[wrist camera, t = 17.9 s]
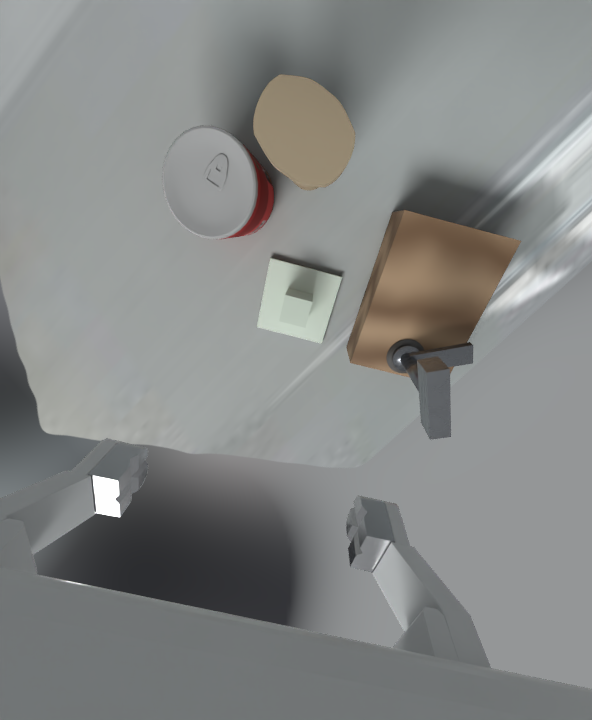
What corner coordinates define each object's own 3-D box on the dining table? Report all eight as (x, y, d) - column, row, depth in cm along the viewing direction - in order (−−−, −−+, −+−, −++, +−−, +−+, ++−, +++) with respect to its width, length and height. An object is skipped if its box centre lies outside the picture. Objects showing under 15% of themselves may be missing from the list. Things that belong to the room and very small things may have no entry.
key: (464, 318, 32) (525, 356, 22) (463, 373, 34) (518, 428, 25) (389, 332, 33) (417, 374, 23) (394, 384, 36) (421, 440, 26)
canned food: (283, 169, 31) (267, 143, 21) (265, 244, 35) (244, 252, 25) (214, 145, 31) (166, 107, 21) (203, 224, 34) (156, 223, 24)
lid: (271, 257, 36) (265, 261, 31) (341, 275, 36) (345, 283, 31) (258, 324, 39) (250, 337, 35) (321, 340, 40) (322, 355, 35)
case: (392, 212, 32) (404, 209, 28) (492, 239, 33) (522, 241, 28) (346, 347, 39) (350, 363, 35) (429, 367, 40) (444, 386, 35)
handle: (321, 212, 33) (325, 202, 19) (273, 178, 32) (240, 142, 18) (346, 169, 31) (370, 124, 17) (296, 131, 30) (278, 52, 16)
